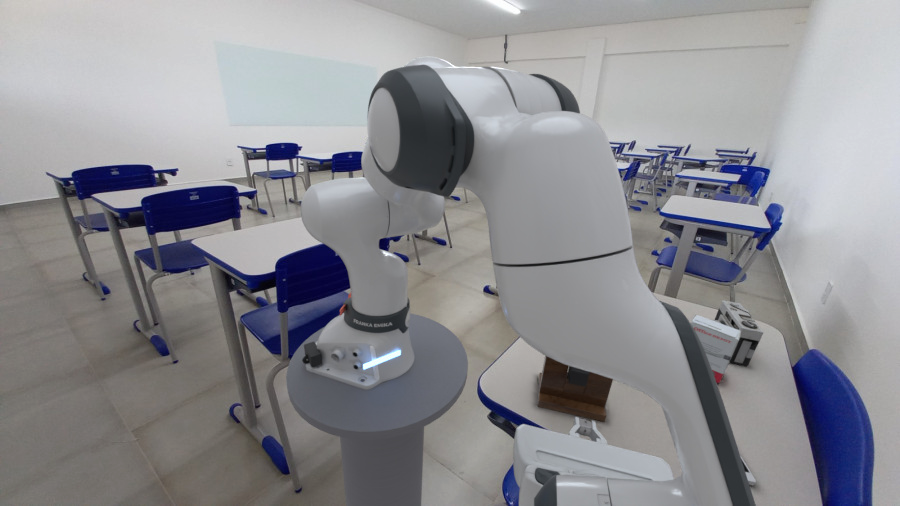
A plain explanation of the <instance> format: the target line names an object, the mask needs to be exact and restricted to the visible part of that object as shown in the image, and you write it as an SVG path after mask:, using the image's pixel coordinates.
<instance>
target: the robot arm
mask: <svg viewBox="0 0 900 506" xmlns="http://www.w3.org/2000/svg"><path fill="white" fill-rule="evenodd" d="M366 118H367V119H366V120H367V121H366V133H367V139H366V141H365V145H364V148H363V151H362V154H361V159H360V160H361V162H360V163H361V169H362V173H363V176H364V177H347V178H346V177H343V178H342V177H341V178H335V179H334V178H333V179H331V180H325V181H322V182H319V183H315V184H312V185H310V186H309V187H308V188H307V190H306V191H305V192H304V194H303V196H302V198H301V202H300V218H301V222H302V224H303V227H304V228H305V229H306V231H307V232H308V234H309V235H310V236H311V237H312V238H313V239H315V240H316V241H318V243H321V244H324V245H325V246H327V247H328V248H330V249H331V250H333V252H334V253H336V254H337V255H338V256H339V258H340V259H341V260H342V262H343V264H344V265H345V268H346V270H347V276H348V280H349V287H350V288H349V289H350V293H348V295H347V299H345V300H344V302H343V303H342V306H341V307H340V309H339V314H338V315H337V316H335V317H334V318H332V319H331V320H330V321H329V322H328V323H327V324H326V325H325V326H324V327H325V328H324V327H323V328H324V329H323V330H322V332H321V334H320V336H319V338H318V341H317V342H316V343H315V342H311V343H307V344H304V350H305V356H304V357H303V359H302V361H303V363H305V364H306V370H307V371H310V372H313V373H316V374H319V375H322V376H325V377H328V378H331V379H334V380H337V381H340V382H343V383H346V384H349V385H352V386H355V387H358V388H361V389H365V390H369V389H372V388H374V387H375V386H377V385H379V384H380V383H382V382H385V381H388V380H392V379H395V378H397V377H399V376H401V375H403V374H404V373H406V372H407V371H408V370H409V369H410V368H411V366H412V365H413V363H414V359H415V355H414V351H413V349H412V345H411V341H410V335H409V324H410V313H411V304H410V302H411V301H410V299H409V295H408V294H409V269H408V266H407V264H406V262H405V261H404V260H403V259H402V258H401V257H400V256H398V255H397V254H395V253H393V252H392V251H391V252H390V251H388V250H384V249H381V248H380V240H381V239H385V238H394V237H401V236H407V235H415V234H418V233H421V232H424V231H427V230H429V229H432V228H435V227H437V226H438V225H439V224H440V222H441V221H442V219H443V216H444V213H445V208H446V201H445V198H449V197H450V196H452V194H453V192H454V191H455V190H456V189H457V188H462V189H465V190H468V191H470V192H472V193H473V194H474V195H475V196H476V197H477V198H478V199H479V200H480V202H481V203H482V206H483V208H484V211H485V215H486V220H487V227H488V237H489V245H490V246H489V247H490V253H491V261H492V269H493V274H494V280H495V281H494V282H495V286H496V290H497V295H498V298H499V302H500V303H499V304H500V307H501V309H502V312H503V315H504V318H505V320H506V322H507V324H508V325H509V327H510V328H511V329H512V330H513V331H514V332H515V334H516V335H517V336H518V337H519V338H520V339H521V340H523V341H524V343H526V344H527V345H529V347H531V348H532V349H534V350H535V351H537V352H539V353H540V354H542V355H544V357H545V356H547V357H549V358H551V359H553V360H555V361H558V362H560V363H562V364H565V365H568V366H571V367H574V368H578V369H581V370H585V371H588V372H591V373H595V374H598V375H601V376H604V377H607V378H610V379H613V381H616V382H618V383H620V384H623V385H626V386H628V387H630V388H632V389H635V390H637V391H639V392H641V393H643V394H644V395H646V396H648V397H650V398H651V399H652V400H653V401H655V402H656V403H657V404H658V405H659V406H660V407H661V408H662V411H663V415H664V419H665V421H666V423H667V427H668V431H669V434H670V436H671V439H672V443H673V447H674V449H675V453H676V455H677V459H678V461H679V465H680V468H681V471H682V473H681V474H680V475H679V476H677V477H674V473H673V470H672V467H671V465H670V464H669V463H668V462H667V461H666V460H665V459H664V458H662V457H660V456H657V455H651V454H649V453H648V454H647V453H643V452H640V451H636V450H632V449H627V448H624V447H619V446H615V445H611V444H608V441H607V439H606V438H605V436H603V434H602V433H601V432H600V431H599V429H597V423H596V420H593V419H589V418H584V417H580V416H574V419H573V423H572V424H573V425H572V427H571V429H570V430H569V431H568V434H567V433H562V432H559V431H554V430H549V429H547V428H542V427H537V426H535V425H534V426H533V425H529V424H526V423H522V424H519V425H518V426H517V427H516V429H515V432H514V437H513V446H512V459H513V460H512V465H513V466H512V467H513V475H514V479H515V482H516V484H517V486H518V488H519V491H518V506H757V504H756V503H755V501H756V500H755V498H754V495H753V492H752V489H751V485H749V482H748V479H747V476H746V473H745V470H744V466H743V463H742V460H741V457H742V456H741V457H740V455H741V453H740V450H739V448H738V444H737V441H736V438H735V435H734V431H733V429H732V428H733V427H732V425H731V422H730V419H729V416H728V412H727V409H726V406H725V403H724V400H723V397H722V395H721V392H720V389H719V386H718V383H716V380H715V377H714V374H713V371H712V369H711V366H710V363H709V360H708V358H707V355H706V353H705V350H704V348H703V346H702V343H701V341H700V339H699V337H698V335H697V333H696V331H695V330H694V328H693V327H692V325H691V321H690V320H689V318H687V316H686V315H685V314H684V312H683V311H682V310H681V309H680V308H679V307H677V306H675V305H672V304H671V303H670V304H669V303H667V302H664V301H662V300H659V298H658V297H656V296H655V295H654V293H653V291H652V290H651V289H650V287H649V286H648V285H647V283H646V282H645V280H644V278H643V276H642V273H641V270H640V268H639V266H638V263H637V259H636V253H635V247H634V240H633V239H634V238H633V231H632V226H631V219H630V213H629V208H628V203H627V198H626V194H625V190H624V186H623V182H622V178H621V175H620V171H619V168H618V165H617V161H616V157H615V154H614V152H613V149H612V147H611V146H612V145H611V143H610V140H609V138H608V135H607V133H606V131H605V130H604V129H603V127H602V126H601V124H599V123H598V122H597V121H596V120H595V119H593V118H591V116H587V115H585V114H583V113H581V111H580V107H579V103H578V100H577V99H576V97H575V95H574V94H573V92H572V90H571V89H569V88H568V87H567V86H566V85H565V84H563V83H562V82H560V81H558V80H556V79H554V78H552V77H550V76H546V75H544V74H540V73H529V74H528V73H524V72H520V71H517V70H512V69H507V68H502V67H495V66H479V67H477V66H476V67H475V66H455V65H453V64H451V62H449V61H448V60H445V59H442V58H439V57H435V56H419V57H417V58H414V59H412V60H409V62H407V63H406V64H404V65H403V66H401V67H397V68H392V69H390V70H387V71H386V72H385V73H382V75H381V76H380V78H379V80H378V81H377V83H376V84H375V86H374V87H373V89H372V90H371V93H370V97H369V100H368V105H367V117H366ZM580 436H584V437H587V438H588V437H589V439H587V438H583V437H580ZM739 453H740V454H739Z"/></svg>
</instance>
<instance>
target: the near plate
mask: <svg viewBox="0 0 900 506" xmlns="http://www.w3.org/2000/svg"><path fill="white" fill-rule="evenodd" d="M568 369H569V366H568V365H565V364H562V363H560V362H558V361H555V360H553V359H551V358H549V357H547V356H545V355H544V360H543V366H542V370H541V372H539V373H538V383H537V384H538V386H537V407H539V408H541V409H547V410H550V411H551V410H552V411H556V412H559V413H560V412H561V413H565V414H569V415H572V416H576V417H580V418H585V419H589V420H593V421H599V422H604V423H605V422H606V419H607V412H606V404H607V402H608V398H609V395H610V393H611V392H610V390H611V388H612V385H613V381H614V380H613V379H610V378H607V377H604V376H601V375H598V374H595V373H591V372H589V377H588V381H587V384H586V387H584V386H579V385H574V384H570V383H569V382H568Z"/></svg>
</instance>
